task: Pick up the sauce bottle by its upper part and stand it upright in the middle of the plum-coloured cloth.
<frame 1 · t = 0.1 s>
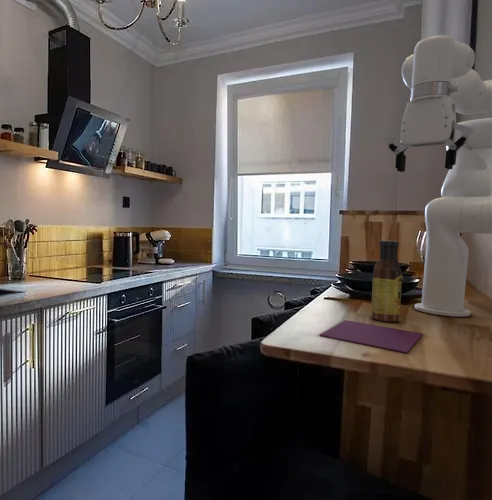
hand: (423, 170, 99), 37 cm above the worktop, tool pointing down, fingers open, 9 cm apart
sauce bottle: (384, 320, 106), on the worktop
cloth: (372, 335, 91), on the worktop
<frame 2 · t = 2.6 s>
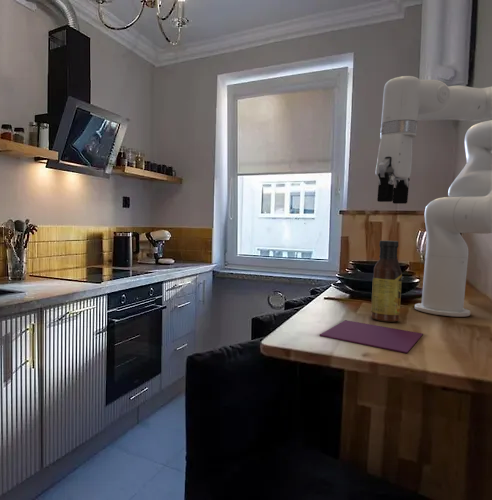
hand: (392, 202, 104), 29 cm above the worktop, tool pointing down, fingers open, 9 cm apart
nothing on the worktop moved.
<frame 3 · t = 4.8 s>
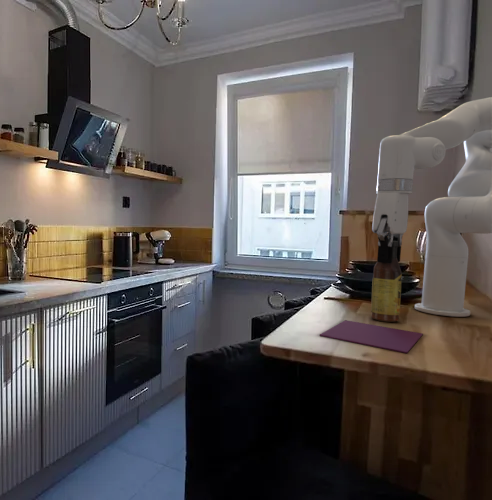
hand: (388, 261, 105), 15 cm above the worktop, tool pointing down, fingers closed on sauce bottle, 4 cm apart
sauce bottle: (384, 320, 106), on the worktop, touching gripper
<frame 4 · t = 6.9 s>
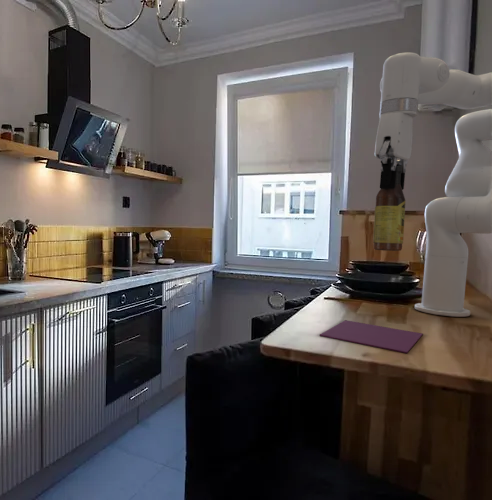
hand: (391, 188, 100), 32 cm above the worktop, tool pointing down, fingers closed on sauce bottle, 4 cm apart
sauce bottle: (386, 251, 101), point 17 cm above the worktop, touching gripper
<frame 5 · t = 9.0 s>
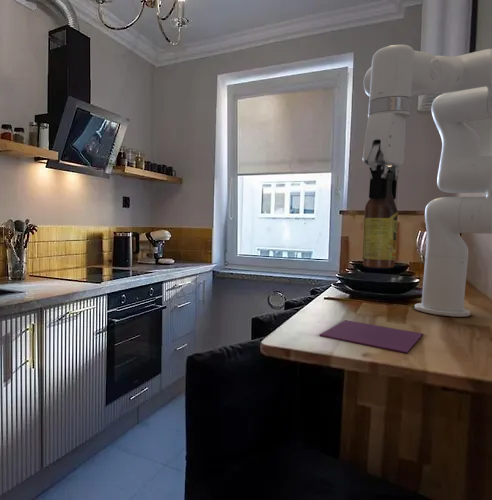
hand: (382, 198, 89), 29 cm above the worktop, tool pointing down, fingers closed on sauce bottle, 4 cm apart
sauce bottle: (377, 268, 91), point 15 cm above the worktop, touching gripper
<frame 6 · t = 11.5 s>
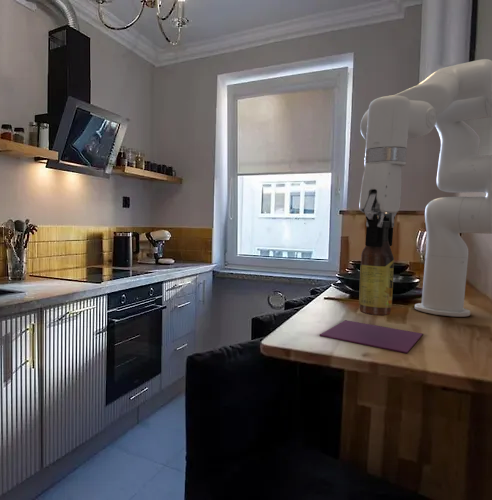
hand: (378, 245, 90), 20 cm above the worktop, tool pointing down, fingers closed on sauce bottle, 4 cm apart
sauce bottle: (374, 314, 91), point 5 cm above the worktop, touching gripper
when the fingers open (15 cm above the worktop, at t = 13.1 s): sauce bottle stays where it is, resting on cloth.
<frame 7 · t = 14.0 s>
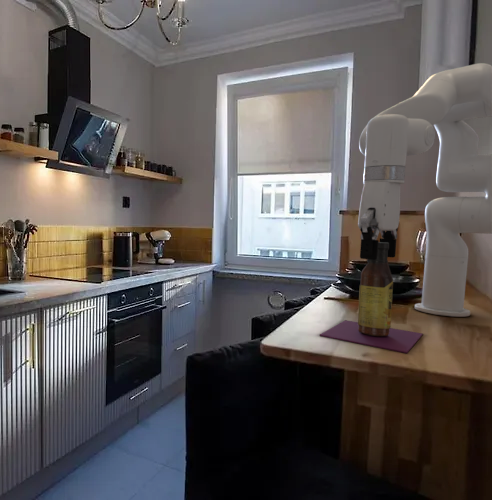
hand: (377, 257, 90), 17 cm above the worktop, tool pointing down, fingers open, 9 cm apart
sauce bottle: (372, 334, 92), resting on cloth
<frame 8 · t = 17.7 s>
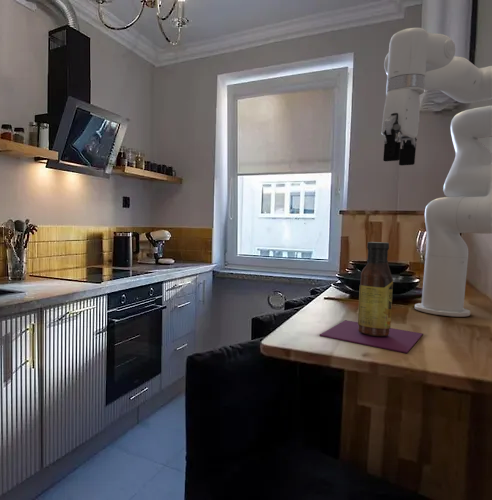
hand: (399, 163, 99), 38 cm above the worktop, tool pointing down, fingers open, 9 cm apart
nothing on the worktop moved.
at the end: sauce bottle inside the target area on the cloth (0.4 cm from its centre), point 0.1 cm above the cloth's base; sauce bottle tilted 0°; the gripper is holding nothing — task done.
